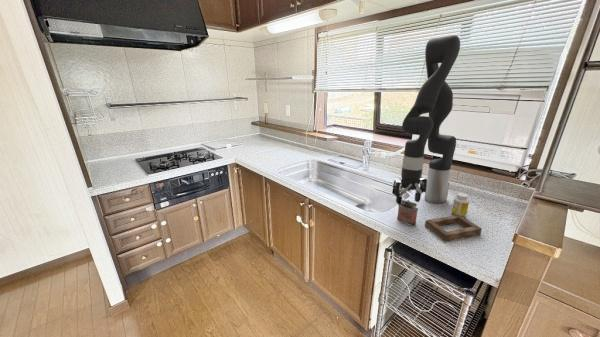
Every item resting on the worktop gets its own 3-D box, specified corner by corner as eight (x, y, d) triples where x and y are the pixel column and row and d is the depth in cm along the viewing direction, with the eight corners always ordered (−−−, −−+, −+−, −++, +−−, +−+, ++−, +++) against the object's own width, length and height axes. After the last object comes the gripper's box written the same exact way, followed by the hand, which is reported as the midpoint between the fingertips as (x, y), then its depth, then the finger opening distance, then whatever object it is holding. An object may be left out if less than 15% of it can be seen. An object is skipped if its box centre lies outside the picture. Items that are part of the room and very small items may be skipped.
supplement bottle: (467, 214, 109) (471, 194, 106) (464, 219, 105) (468, 198, 102) (453, 210, 113) (456, 190, 109) (449, 215, 109) (453, 195, 105)
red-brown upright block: (395, 220, 108) (397, 199, 104) (398, 217, 110) (400, 197, 107) (414, 226, 102) (416, 205, 99) (417, 223, 104) (419, 202, 101)
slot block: (457, 220, 105) (458, 214, 104) (480, 235, 95) (481, 228, 94) (424, 226, 102) (425, 220, 101) (445, 242, 92) (446, 235, 91)
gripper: (421, 162, 102) (416, 196, 108) (391, 165, 100) (387, 200, 105) (434, 167, 95) (428, 204, 101) (402, 171, 93) (397, 209, 98)
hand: (407, 202), depth 103 cm, fingers open, 8 cm apart
